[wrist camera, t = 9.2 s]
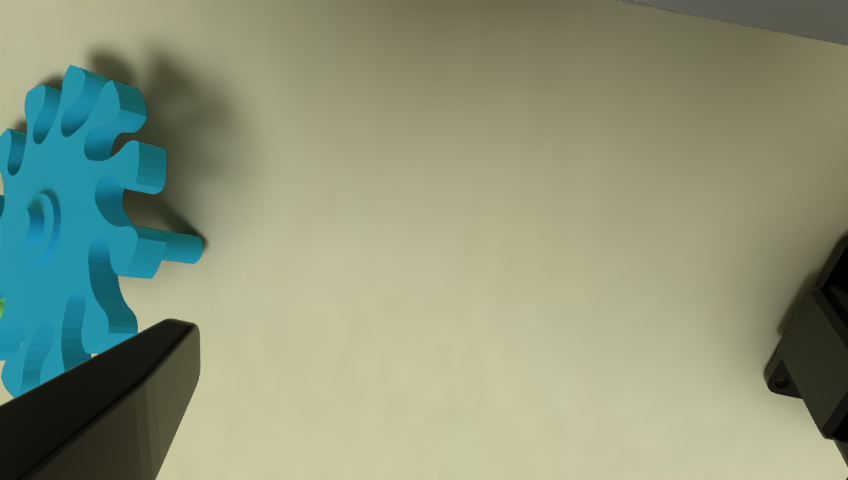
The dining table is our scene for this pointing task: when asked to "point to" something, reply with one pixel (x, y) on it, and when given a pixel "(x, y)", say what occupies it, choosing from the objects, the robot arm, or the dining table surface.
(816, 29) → the bay
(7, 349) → the gear
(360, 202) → the dining table surface
